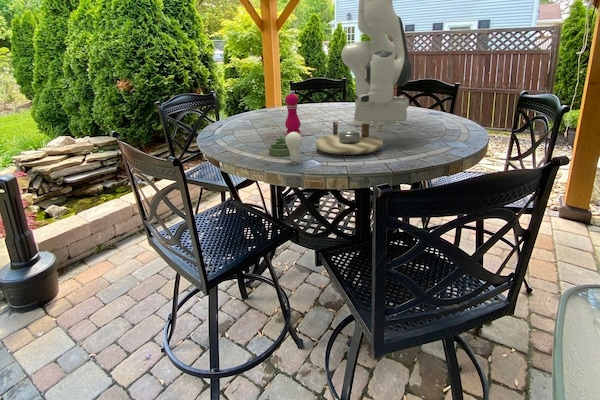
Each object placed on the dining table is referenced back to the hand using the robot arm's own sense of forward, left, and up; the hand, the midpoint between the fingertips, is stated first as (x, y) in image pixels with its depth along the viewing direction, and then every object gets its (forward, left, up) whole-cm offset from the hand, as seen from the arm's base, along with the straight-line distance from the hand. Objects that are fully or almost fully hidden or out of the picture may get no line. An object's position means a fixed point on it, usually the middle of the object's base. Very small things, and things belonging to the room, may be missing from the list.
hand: (379, 131), depth 149 cm
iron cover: (+13, -1, -2) cm, 14 cm away
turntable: (+14, -1, -4) cm, 14 cm away
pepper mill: (+22, -39, -6) cm, 45 cm away
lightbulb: (+39, +3, -6) cm, 39 cm away
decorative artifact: (+38, -11, -6) cm, 40 cm away
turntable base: (+14, -1, -6) cm, 15 cm away
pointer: (+11, -18, -6) cm, 21 cm away
